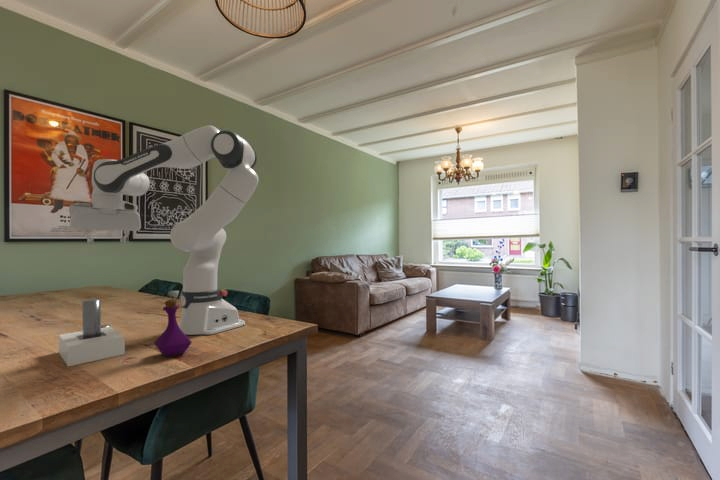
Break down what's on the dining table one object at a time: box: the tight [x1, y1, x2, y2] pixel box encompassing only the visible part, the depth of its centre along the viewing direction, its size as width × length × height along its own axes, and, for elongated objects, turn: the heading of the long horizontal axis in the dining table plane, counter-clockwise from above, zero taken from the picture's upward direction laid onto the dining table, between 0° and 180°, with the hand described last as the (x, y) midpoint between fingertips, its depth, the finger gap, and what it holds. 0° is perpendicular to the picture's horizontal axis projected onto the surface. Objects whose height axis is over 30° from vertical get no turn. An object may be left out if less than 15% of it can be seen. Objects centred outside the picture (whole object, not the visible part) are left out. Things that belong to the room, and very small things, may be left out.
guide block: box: [58, 326, 126, 367], centre depth 93 cm, size 12×16×5 cm
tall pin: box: [81, 298, 102, 340], centre depth 93 cm, size 4×4×15 cm
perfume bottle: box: [153, 290, 192, 358], centre depth 92 cm, size 8×8×18 cm
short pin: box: [101, 324, 112, 328], centre depth 105 cm, size 4×4×4 cm
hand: (107, 243), depth 118 cm, fingers open, 8 cm apart
